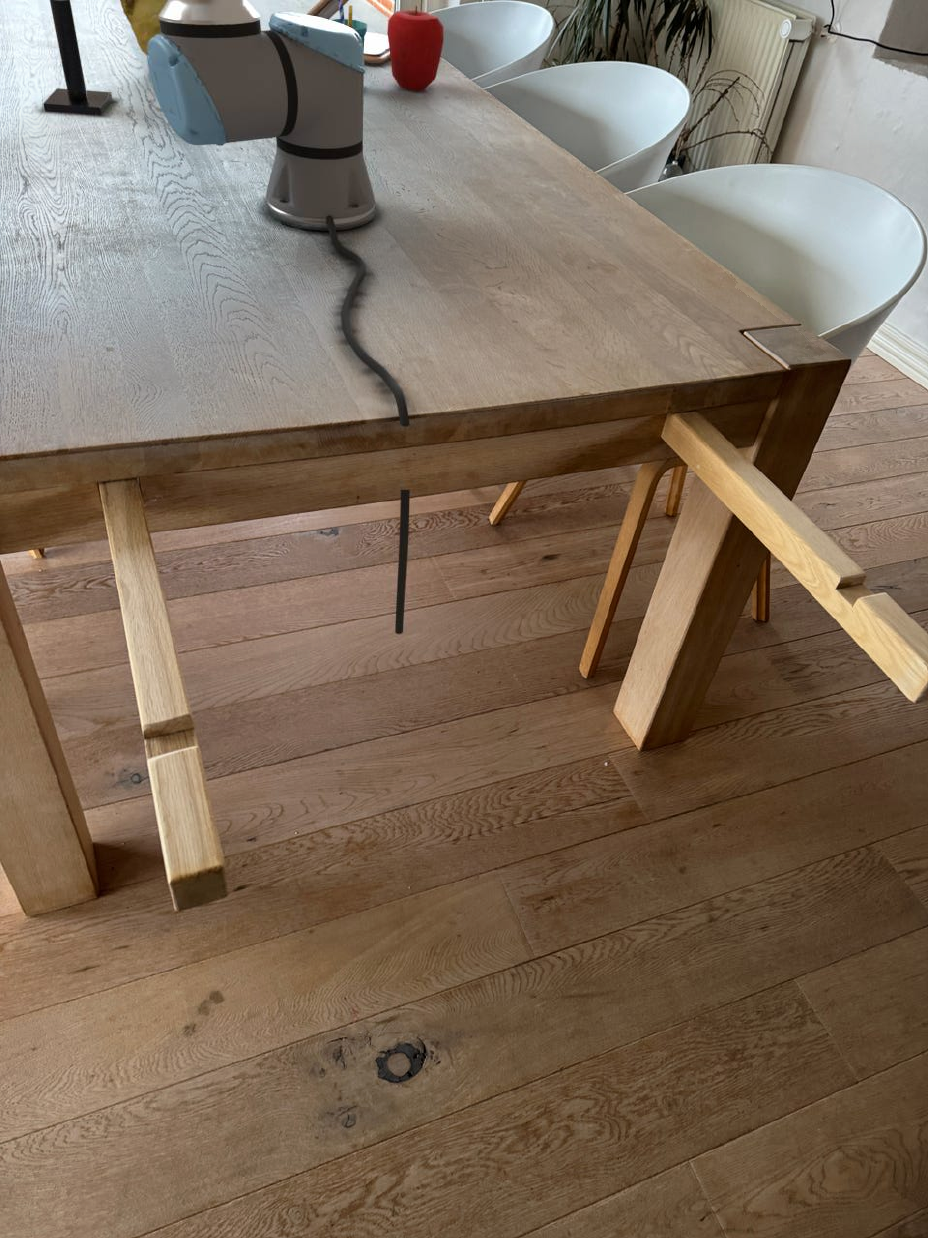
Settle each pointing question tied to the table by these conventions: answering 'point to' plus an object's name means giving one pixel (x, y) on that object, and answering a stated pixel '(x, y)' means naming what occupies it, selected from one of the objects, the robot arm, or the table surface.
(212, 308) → the table surface
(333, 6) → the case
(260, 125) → the robot arm
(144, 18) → the pitcher
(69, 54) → the peg stand
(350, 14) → the cup
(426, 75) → the apple
